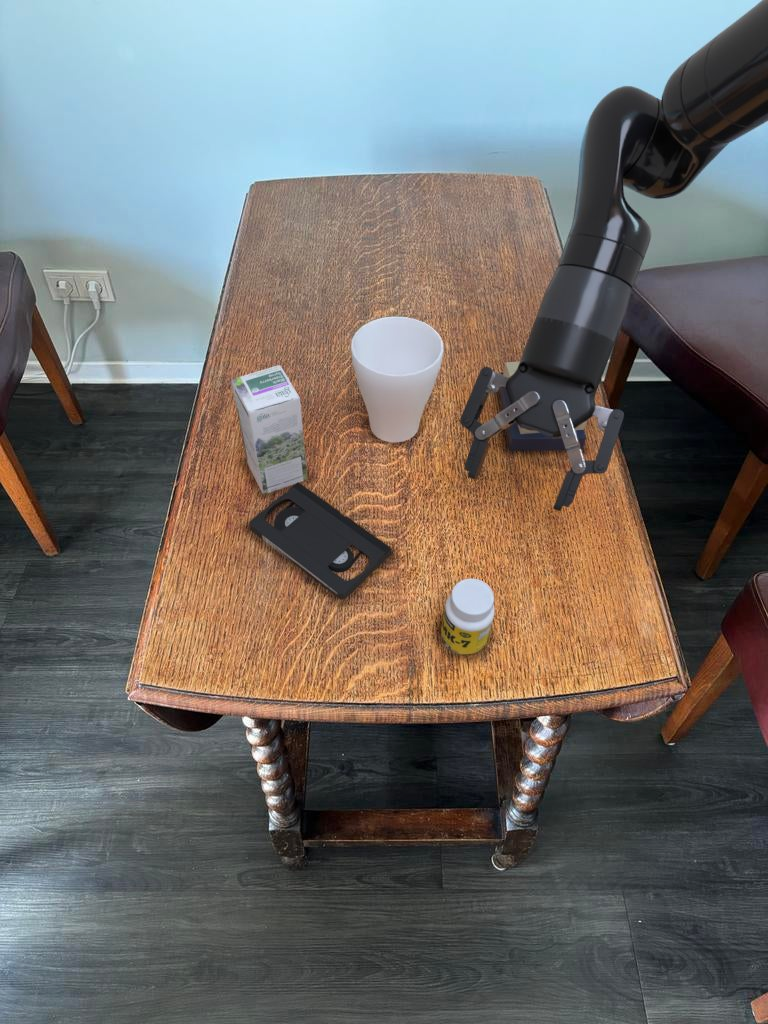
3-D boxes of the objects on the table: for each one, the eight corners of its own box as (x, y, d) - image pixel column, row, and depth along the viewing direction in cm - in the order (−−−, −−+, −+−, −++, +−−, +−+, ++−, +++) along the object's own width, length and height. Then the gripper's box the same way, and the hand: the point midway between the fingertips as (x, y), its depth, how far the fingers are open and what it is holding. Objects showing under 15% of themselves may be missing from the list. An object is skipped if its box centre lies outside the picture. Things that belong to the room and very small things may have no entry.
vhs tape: (249, 533, 82) (247, 522, 80) (299, 492, 85) (297, 482, 84) (342, 605, 76) (341, 595, 74) (391, 558, 80) (391, 548, 78)
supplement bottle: (430, 639, 74) (436, 595, 67) (459, 609, 76) (468, 565, 69) (467, 668, 72) (477, 627, 65) (496, 637, 74) (508, 594, 67)
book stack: (580, 454, 90) (591, 423, 85) (508, 455, 90) (515, 423, 85) (563, 388, 97) (572, 356, 93) (497, 389, 97) (503, 357, 93)
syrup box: (291, 451, 89) (279, 360, 78) (309, 484, 86) (300, 394, 75) (247, 466, 88) (228, 375, 76) (264, 501, 85) (247, 411, 73)
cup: (350, 402, 95) (347, 317, 84) (429, 398, 96) (437, 313, 85) (355, 462, 88) (353, 378, 78) (440, 457, 89) (450, 373, 78)
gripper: (496, 297, 64) (436, 469, 67) (655, 344, 61) (585, 524, 63) (507, 314, 72) (453, 468, 74) (650, 356, 68) (588, 517, 71)
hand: (514, 493), depth 69 cm, fingers open, 8 cm apart
